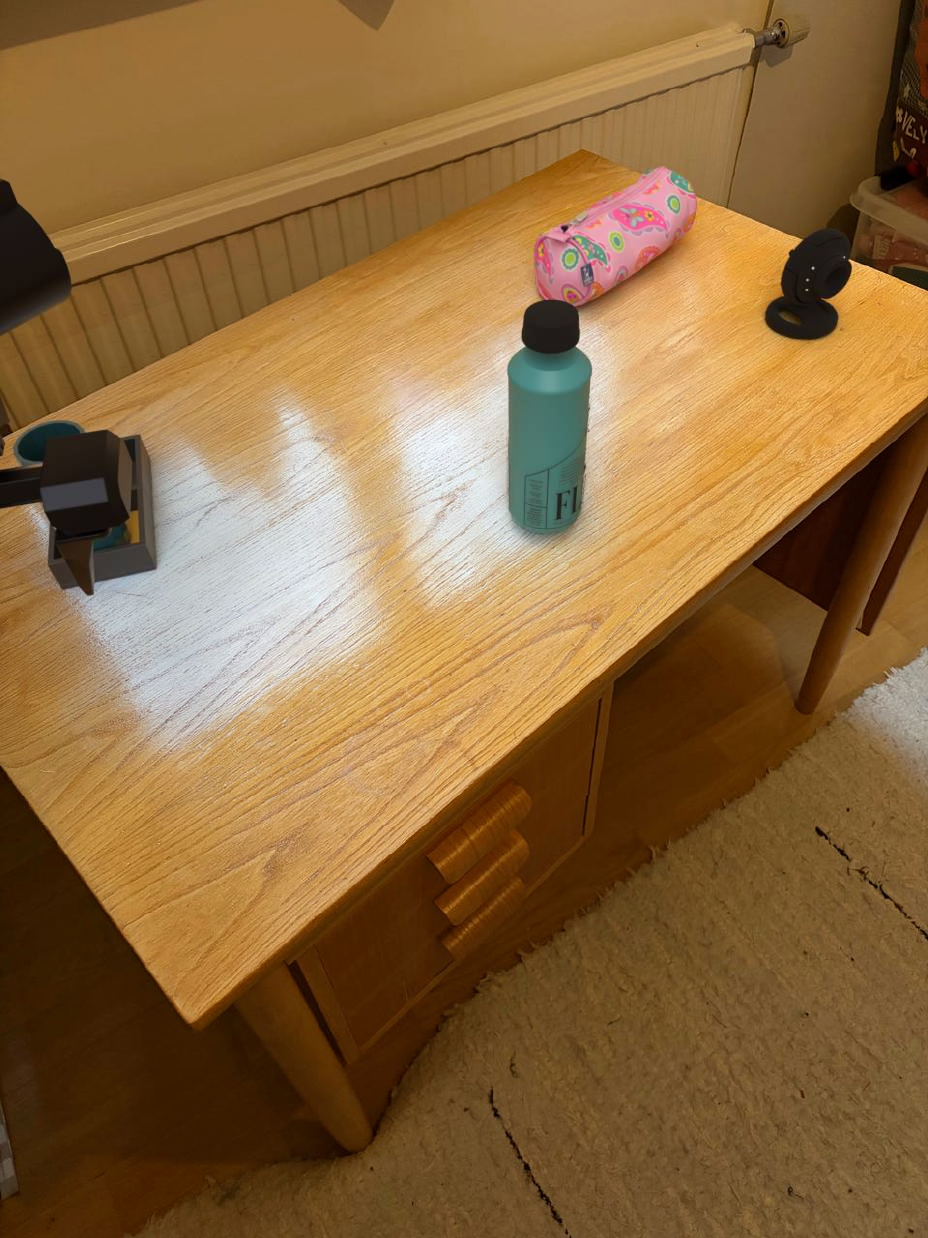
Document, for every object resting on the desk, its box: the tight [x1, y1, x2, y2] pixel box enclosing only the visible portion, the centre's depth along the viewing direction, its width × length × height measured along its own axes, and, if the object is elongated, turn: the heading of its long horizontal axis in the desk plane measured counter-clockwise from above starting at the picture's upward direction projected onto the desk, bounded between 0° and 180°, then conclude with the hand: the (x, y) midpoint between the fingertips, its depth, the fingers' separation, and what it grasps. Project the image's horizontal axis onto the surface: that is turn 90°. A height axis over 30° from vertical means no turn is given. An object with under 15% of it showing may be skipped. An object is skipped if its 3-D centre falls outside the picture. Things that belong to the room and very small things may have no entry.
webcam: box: [764, 227, 853, 340], centre depth 90 cm, size 8×8×10 cm
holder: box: [47, 433, 157, 590], centre depth 77 cm, size 15×8×3 cm, turn 15°
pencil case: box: [533, 165, 698, 308], centre depth 99 cm, size 21×9×9 cm, turn 136°
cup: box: [12, 419, 132, 551], centre depth 71 cm, size 5×5×11 cm
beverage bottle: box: [505, 299, 593, 534], centre depth 68 cm, size 6×7×20 cm
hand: (15, 603), depth 55 cm, fingers open, 9 cm apart
